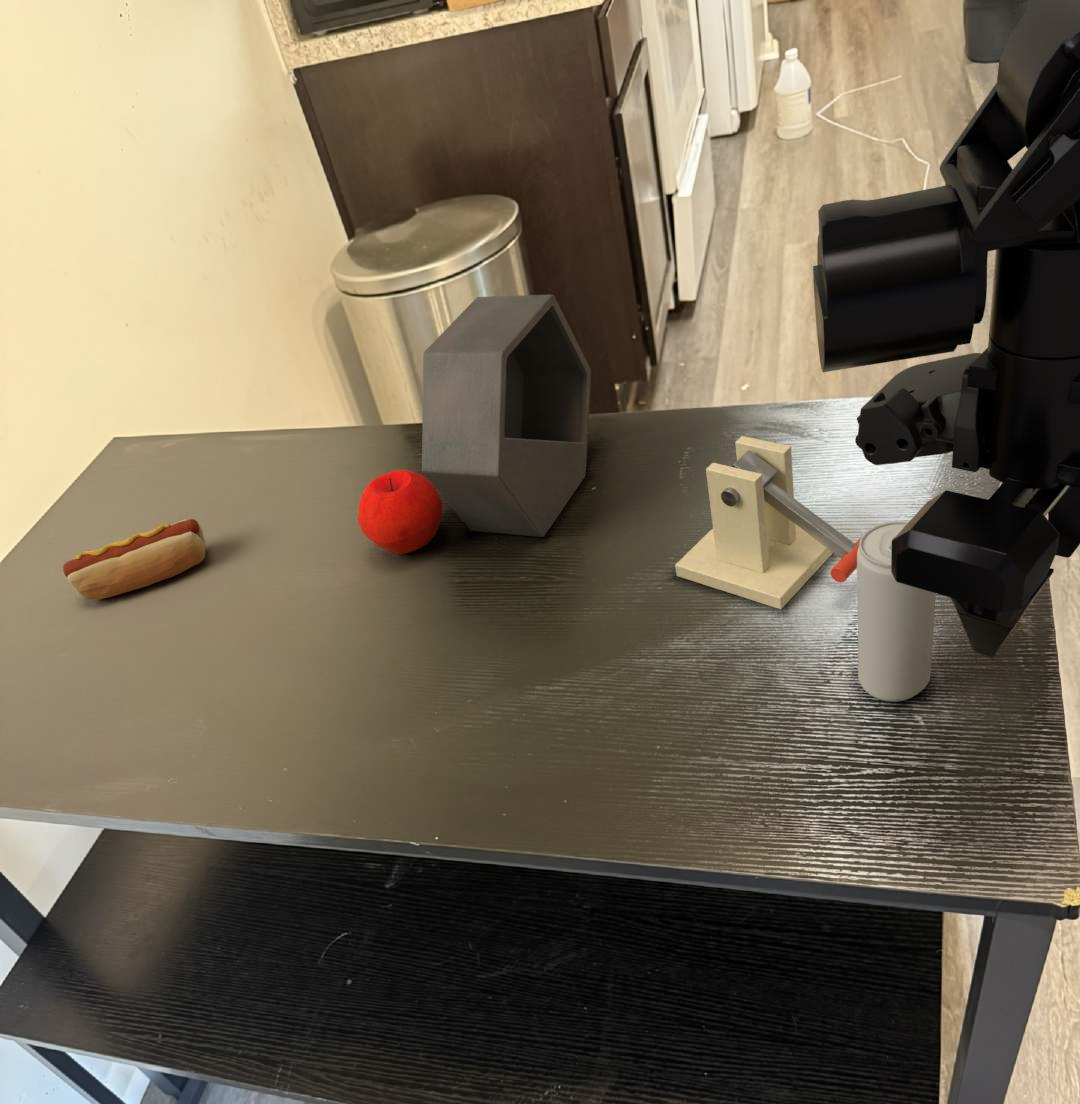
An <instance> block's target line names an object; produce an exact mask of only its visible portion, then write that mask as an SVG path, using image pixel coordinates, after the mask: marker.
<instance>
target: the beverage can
mask: <svg viewBox="0 0 1080 1104" xmlns="http://www.w3.org/2000/svg"><path fill="white" fill-rule="evenodd" d="M909 521H910V520H890V521H885V522H881V523H878V524H875V525H873V526H871V527H870V528H868V529H867V530H866V531H864V532H863V534H862V535H863V536H862V535H861V536H862V537H861V536H860V537H861V539H860V544H859V548H858V552H857V568H856V589H857V590H856V595H857V596H856V597H857V599H856V600H857V679H858V682H859V684H860V685H861V688H862V689H863V690H864V691H865V692H866V693H867V694H868V695H870V696H872V697H873V698H875V699H877V700H878V701H879V700H880V701H884V702H890V703H891V702H892V703H896V702H903V701H906V700H909V699H912V698H914V697H915V696H916V695H918V694H920V693H921V692H922V691H923V690H924V689H926V688H927V686H928V684H929V683H930V681H931V671H932V660H933V659H932V658H933V657H932V656H933V644H934V631H935V630H934V627H935V615H936V614H935V613H936V600H937V599H936V598H937V593H933V592H930V591H926V590H923V589H919V588H916V587H912V586H909V585H906V584H902V583H899V582H896V580H895V578H894V576H893V574H892V572H891V554H892V540H893V539H894V538H895V537H896V536H897V534H898V533H899V532H900V531H901V530H902V529H903V528H904V527H905V526H906V525H907V524H908V522H909Z"/></svg>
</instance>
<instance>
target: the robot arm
mask: <svg viewBox="0 0 1080 1104" xmlns="http://www.w3.org/2000/svg"><path fill="white" fill-rule="evenodd" d="M1007 38H1008V39H1007V40H1006V43H1005V46H1004V47H1003V51H1002V54H1001V56H1000V59H999V61H998V68H997V78H996V83H995V84H994V86H993V87H992V88H991V90H990V92H989V93H988V95H987V96H986V97H985V99H984V100H983V101H982V102H981V105H980V106H979V108H978V109H977V110H976V112H975V114H974V115H973V116H972V118H971V119H970V121H969V122H968V124H967V125H966V126H965V128H964V129H963V130H962V132H961V134H960V135H959V136H958V138H957V140H956V141H955V143H954V144H953V145H952V147H950V150H949V151H948V153H947V154H946V155H945V157H944V158H943V160H942V162H941V163H940V166H939V173H940V175H941V177H942V179H943V181H944V185H942V186H936V187H931V188H926V189H921V190H916V191H911V192H906V193H901V194H896V195H895V194H894V195H891V196H886V197H881V198H876V199H844V200H839V201H835V202H830V203H824V204H822V205H821V206H820V208H819V209H818V210H817V214H818V215H817V217H818V218H817V219H818V236H817V246H816V247H817V249H816V251H817V253H816V256H817V258H816V261H817V263H816V264H817V265H813V266H812V277H813V278H812V279H813V299H814V315H815V325H816V326H815V327H816V336H817V347H818V355H819V363H820V368H821V372H822V373H828V372H834V371H841V370H847V369H853V368H858V367H866V366H872V365H878V364H883V363H884V364H885V363H890V362H891V363H892V362H897V361H904V360H909V359H916V358H922V357H927V356H935V355H943V354H947V353H954V352H955V351H956V349H957V347H958V346H963V345H968V344H970V343H971V342H972V337H973V333H974V332H973V331H974V326H975V325H977V324H981V322H982V321H983V318H984V315H985V310H986V306H987V305H986V304H987V293H988V257H989V255H988V254H989V252H992V251H995V255H994V256H995V257H994V266H993V268H994V269H993V278H992V279H993V280H992V293H991V303H990V304H991V306H990V316H989V328H988V329H989V330H988V331H989V332H988V342H987V347H986V349H984V351H982V353H981V352H972V353H967V354H962V355H956V356H952V357H947V358H943V359H938V360H932V361H928V362H923V363H919V364H915V365H912V366H910V367H907V368H905V369H903V370H901V371H899V372H897V374H895V375H894V376H893V377H892V378H891V379H890V380H889V381H888V382H886V384H885V385H883V386H882V388H880V390H879V391H877V392H876V393H875V394H874V395H873V396H872V397H871V398H870V399H869V400H868V401H867V402H866V403H864V405H863V406H862V407H861V408H860V412H859V415H858V416H857V417H856V421H857V424H858V430H857V435H856V436H855V439H854V440H855V444H856V446H857V447H858V448H859V449H861V451H862V454H863V457H864V458H865V460H866V461H867V462H869V463H871V464H872V465H874V466H882V465H883V466H884V465H893V464H900V463H908V462H911V461H913V460H914V459H915V458H922V457H929V456H938V455H945V454H948V453H951V452H952V456H951V457H952V458H951V460H952V461H951V468H952V469H957V470H961V471H966V472H971V473H977V472H979V470H980V469H981V468H982V469H987V470H988V475H989V476H990V477H991V478H992V479H994V480H997V481H998V482H1000V483H1001V484H1000V486H999V487H998V488H997V489H996V490H995V491H994V492H993V494H992V495H991V496H990V497H989V498H988V499H987V498H983V497H978V496H973V495H970V494H966V493H965V494H964V493H960V492H957V491H956V492H955V491H952V490H947V489H946V490H944V491H942V492H941V493H939V494H937V495H936V496H935V497H932V498H931V499H930V500H928V501H927V502H925V503H924V505H922V507H921V508H920V509H919V510H918V511H917V512H916V513H915V514H914V515H913V517H912V518H911V519H910V520H908V521H909V522H908V524H907V525H906V526H905V527H904V528H903V529H902V530H901V531H900V532H899V533H898V534H897V536H896V537H895V538H894V539H893V540H892V554H891V572H892V574H893V576H894V578H895V580H896V582H899V583H902V584H906V585H909V586H912V587H916V588H919V589H923V590H926V591H930V592H933V593H936V595H940V596H944V597H947V598H950V600H951V602H952V604H953V606H954V608H955V610H956V612H957V615H958V617H959V620H960V622H961V624H962V627H963V629H964V632H965V635H966V637H967V640H968V642H969V644H970V647H971V649H972V651H973V652H975V653H976V654H980V655H983V656H986V657H989V658H993V657H995V656H996V654H997V653H998V651H999V650H1000V649H1001V647H1002V646H1003V644H1005V642H1006V641H1007V640H1008V638H1009V636H1010V635H1011V633H1013V630H1014V629H1015V628H1016V626H1017V625H1018V623H1019V622H1020V621H1021V619H1022V618H1023V616H1024V615H1025V613H1026V612H1027V611H1028V609H1029V608H1030V606H1031V605H1032V603H1033V602H1034V600H1036V598H1037V596H1038V595H1039V594H1040V592H1041V591H1042V590H1043V588H1044V587H1045V585H1046V584H1047V582H1048V581H1049V579H1050V578H1051V577H1052V576H1053V574H1054V571H1055V569H1054V568H1051V567H1052V565H1053V562H1054V560H1055V558H1056V556H1057V557H1062V558H1066V559H1069V558H1071V557H1072V555H1073V554H1074V553H1075V551H1076V550H1077V549H1078V547H1080V0H1032V1H1031V2H1030V4H1028V7H1027V9H1026V11H1025V13H1024V14H1023V15H1022V16H1021V18H1020V20H1019V21H1018V22H1017V24H1016V25H1015V27H1014V28H1013V30H1012V31H1011V32H1010V34H1009V36H1008V37H1007ZM1024 148H1026V149H1027V150H1026V151H1025V152H1024V154H1023V155H1022V157H1021V158H1020V159H1019V160H1018V162H1017V163H1016V164H1015V166H1014V167H1013V168H1012V166H1011V164H1010V162H1009V161H1010V159H1012V158H1013V157H1014V156H1016V155H1017V154H1018V153H1019V152H1020V151H1022V150H1023V149H1024ZM1046 516H1047V517H1046Z"/></svg>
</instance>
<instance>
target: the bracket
mask: <svg viewBox="0 0 1080 1104" xmlns="http://www.w3.org/2000/svg"><path fill="white" fill-rule="evenodd" d="M734 444H735V454H736V461H737V460H738V459H740V458H741V457H742V456H743V455H744V454H745V453H746V452H747V451H748V450H750V451H751V452H753V453H754V454H756V455H757V456H758V457H760V458H761V459H762V460H764V461H765V462H766V463H768V464H769V465H770V466H772V467H773V468H774V469H776V470H777V473H776V475H775V477H774V478H773V480H772V482H773V483H774V484H775V485H777V486H778V487H779V488H781V489H782V490H783V491H785V492H786V493H787V494H789V495H790V496H791V497H793V498H794V499H795V494H794V476H793V474H794V473H793V456H792V455H793V454H792V446H791V445H788V444H782V443H777V442H772V441H768V440H764V439H759V438H755V437H749V436H745V435H741V436H739V438H738V439H737V440H736V441H735V442H734ZM705 473H706V481H707V482H706V483H707V490H708V497H709V499H708V500H709V505H710V506H709V507H710V514H711V523H712V528H711V529H710V530H709V531H708V532H707V533H706V534H705V535H704V536H703V537H702V538H701V539H700V540H699V541H698V542H697V543H696V544H695V545H693V547H692V548H691V549H690V550H689V551H688V552H687V553H685V554H684V555H683V556H682V557H681V558H680V559H679V561H677V562H676V563H675V564H674V568H675V574H676V577H678V578H682V579H685V580H688V581H692V582H694V583H698V584H701V585H704V586H707V587H710V588H713V589H715V590H719V591H721V592H725V593H728V594H732V595H733V596H734V595H735V596H738V597H740V598H744V599H747V600H750V601H754V602H757V603H759V604H763V605H766V606H769V607H772V608H775V609H778V610H782V609H783V608H784V607H785V606H786V605H787V604H788V603H789V602H790V601H791V600H792V599H793V597H794V596H795V595H796V594H797V593H798V592H799V591H800V590H801V589H802V587H804V586H805V584H807V582H808V581H809V580H811V578H812V576H814V575H815V574H816V572H817V571H818V570H819V569H820V568H821V567H822V566H823V565H824V564H825V562H826V561H827V560H828V559H830V557H831V556H832V555H833V554H834V553H833V552H832V551H830V550H829V549H828V548H826V547H825V546H824V545H822V544H821V543H820V542H819V541H817V540H816V539H815V538H813V537H812V536H811V535H809V534H808V533H807V532H805V531H804V530H803V529H801V528H800V527H799V526H797V525H796V524H795V523H793V522H792V521H791V520H789V519H788V518H787V517H785V516H784V515H783V514H781V513H780V512H779V511H777V510H776V509H775V508H773V507H772V506H771V505H769V504H768V503H767V502H765V501H764V489H763V476H762V474H760V473H755V472H751V471H747V470H743V469H738V468H734V467H732V466H729V465H726V464H720V463H717V462H712V463H711V464H709V465H708V466H707V467H706V468H705Z"/></svg>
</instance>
